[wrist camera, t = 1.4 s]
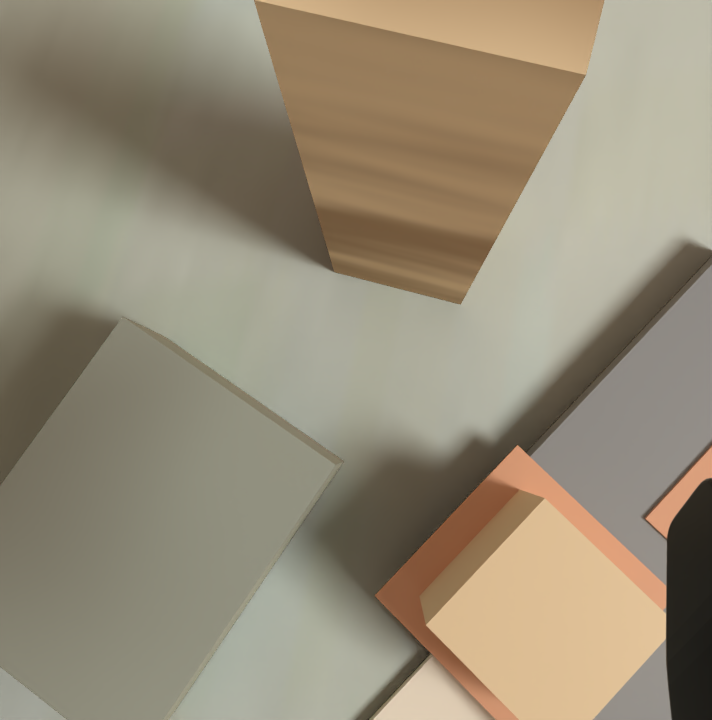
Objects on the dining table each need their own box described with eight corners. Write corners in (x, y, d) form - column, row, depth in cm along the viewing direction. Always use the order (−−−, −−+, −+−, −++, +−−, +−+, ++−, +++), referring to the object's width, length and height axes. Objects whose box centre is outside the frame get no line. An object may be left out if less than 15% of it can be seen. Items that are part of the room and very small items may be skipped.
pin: (460, 304, 21) (585, 74, 8) (334, 271, 21) (253, 0, 8) (492, 182, 21) (660, -224, 8) (368, 152, 21) (343, -285, 9)
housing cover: (174, 711, 19) (129, 769, 16) (-4, 573, 20) (-84, 600, 17) (344, 461, 20) (335, 465, 17) (166, 337, 21) (122, 316, 17)
